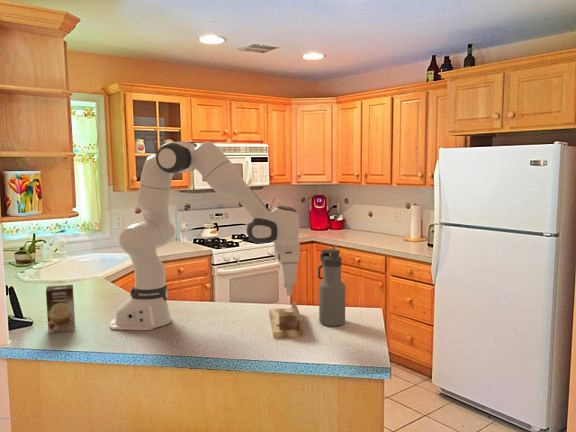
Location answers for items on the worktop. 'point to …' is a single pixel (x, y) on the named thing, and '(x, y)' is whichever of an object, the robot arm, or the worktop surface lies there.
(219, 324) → the worktop surface
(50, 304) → the coffee box
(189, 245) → the worktop surface
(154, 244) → the robot arm
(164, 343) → the worktop surface
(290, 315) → the brown block
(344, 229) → the worktop surface
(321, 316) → the water bottle
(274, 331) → the board
